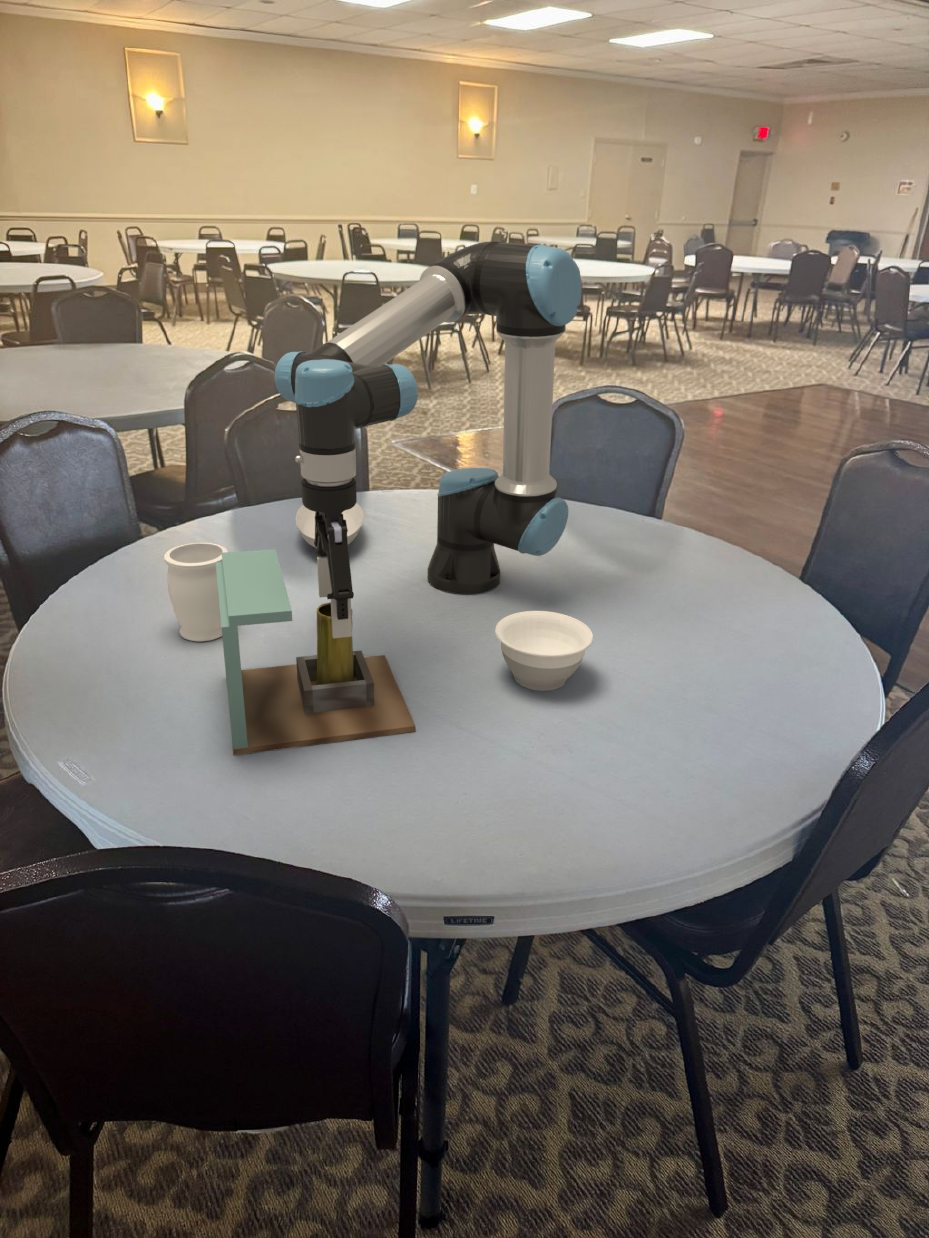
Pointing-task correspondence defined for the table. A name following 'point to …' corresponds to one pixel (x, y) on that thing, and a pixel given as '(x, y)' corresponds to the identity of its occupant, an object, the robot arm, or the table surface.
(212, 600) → the jar
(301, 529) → the bowl
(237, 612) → the green l-shaped post
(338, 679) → the vase
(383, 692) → the socket board
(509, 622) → the bowl
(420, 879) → the table surface
